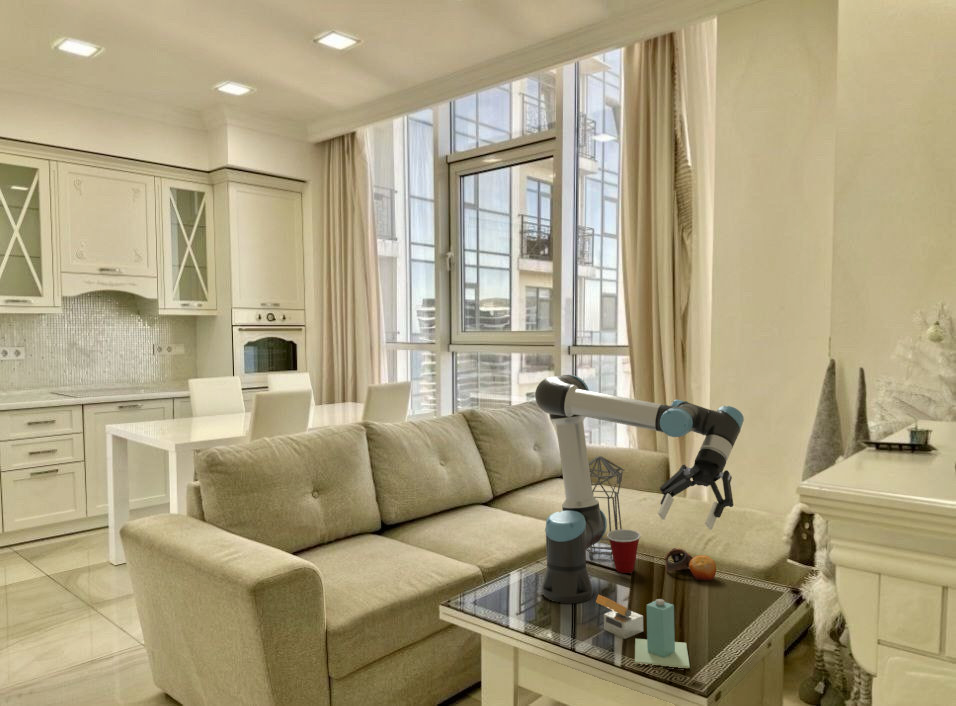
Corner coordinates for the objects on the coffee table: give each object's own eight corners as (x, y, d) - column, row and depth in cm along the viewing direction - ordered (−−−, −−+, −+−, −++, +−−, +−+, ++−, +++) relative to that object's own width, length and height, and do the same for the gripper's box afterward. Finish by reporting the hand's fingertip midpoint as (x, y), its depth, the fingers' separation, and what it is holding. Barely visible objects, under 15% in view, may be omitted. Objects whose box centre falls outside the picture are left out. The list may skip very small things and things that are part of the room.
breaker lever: (620, 605, 169) (596, 593, 164) (632, 610, 166) (608, 598, 161) (617, 613, 168) (594, 601, 163) (629, 618, 165) (605, 606, 160)
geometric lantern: (576, 561, 222) (572, 459, 223) (584, 549, 236) (581, 453, 237) (622, 565, 216) (619, 460, 217) (628, 552, 231) (625, 453, 232)
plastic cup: (601, 571, 211) (600, 534, 211) (617, 562, 219) (616, 527, 219) (631, 578, 204) (631, 540, 204) (647, 569, 212) (646, 532, 212)
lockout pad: (634, 664, 149) (634, 660, 149) (635, 641, 160) (635, 638, 160) (689, 670, 146) (689, 666, 146) (686, 646, 157) (686, 642, 157)
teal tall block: (647, 651, 153) (646, 600, 153) (658, 645, 156) (657, 595, 156) (664, 657, 150) (662, 605, 150) (674, 651, 153) (673, 600, 153)
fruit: (717, 569, 206) (716, 551, 202) (716, 589, 200) (715, 572, 196) (691, 566, 209) (689, 549, 206) (689, 586, 203) (687, 568, 199)
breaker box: (622, 622, 172) (622, 607, 172) (643, 631, 166) (643, 615, 166) (603, 629, 167) (603, 614, 167) (624, 639, 162) (623, 623, 162)
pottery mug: (703, 576, 206) (694, 557, 203) (677, 590, 206) (667, 570, 204) (688, 555, 217) (679, 536, 215) (662, 568, 217) (653, 549, 215)
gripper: (762, 470, 169) (735, 539, 159) (678, 459, 188) (648, 520, 178) (752, 452, 165) (724, 522, 156) (667, 443, 184) (637, 504, 175)
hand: (683, 521), depth 167 cm, fingers open, 13 cm apart
